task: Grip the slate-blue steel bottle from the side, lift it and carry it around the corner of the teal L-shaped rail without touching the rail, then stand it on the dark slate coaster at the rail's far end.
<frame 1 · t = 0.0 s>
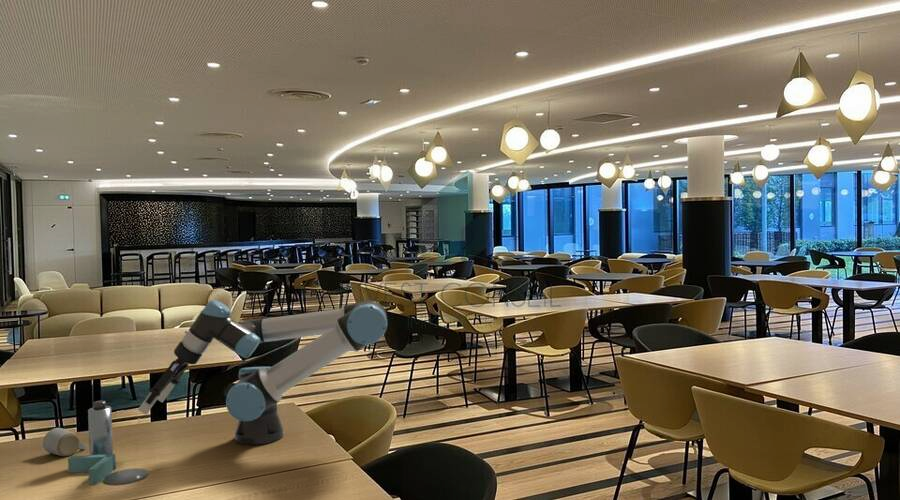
hand: (150, 405, 196), 15 cm above the table, tool tilted 35°, fingers open, 13 cm apart
bottle: (101, 462, 192), on the table
coaster: (126, 477, 180), on the table
bent rail: (110, 469, 186), on the table
ceramic mug: (66, 453, 201), on the table
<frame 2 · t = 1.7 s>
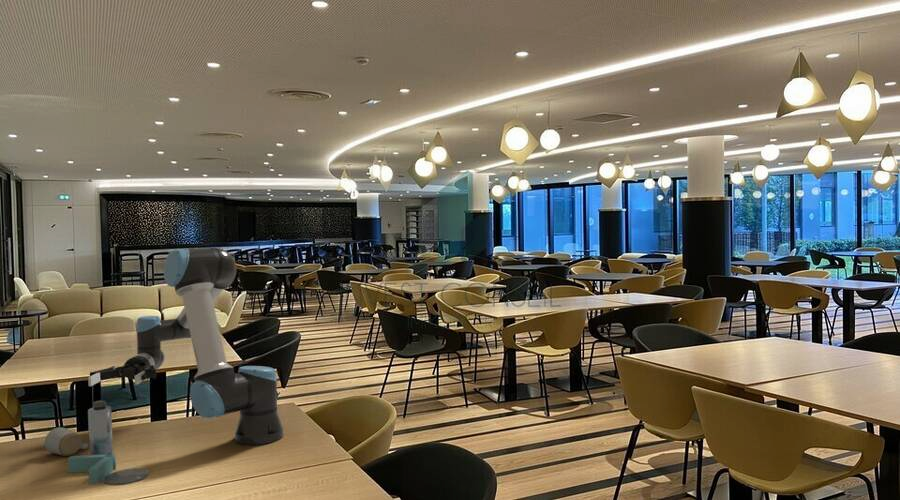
hand: (112, 381, 201), 22 cm above the table, tool horizontal, fingers open, 13 cm apart
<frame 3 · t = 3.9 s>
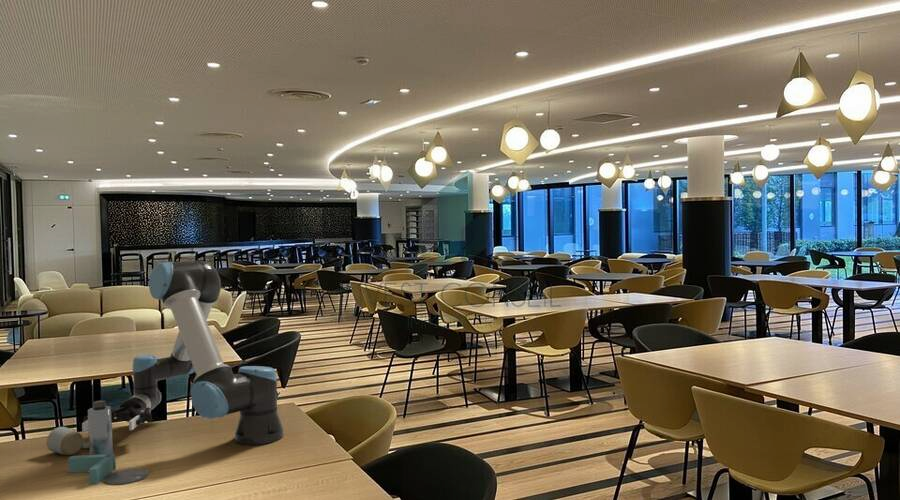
hand: (106, 426, 197), 9 cm above the table, tool horizontal, fingers open, 13 cm apart
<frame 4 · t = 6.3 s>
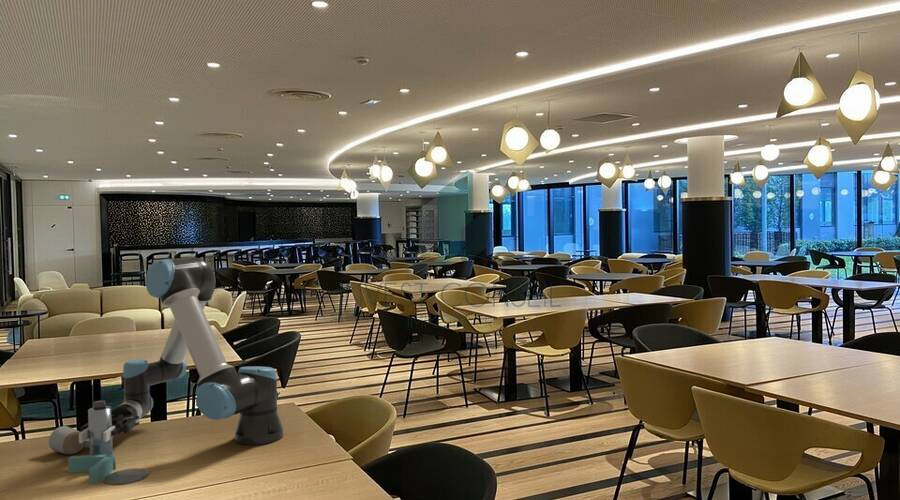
hand: (92, 437, 186), 9 cm above the table, tool horizontal, fingers closed on bottle, 6 cm apart
bottle: (101, 462, 192), on the table, touching gripper
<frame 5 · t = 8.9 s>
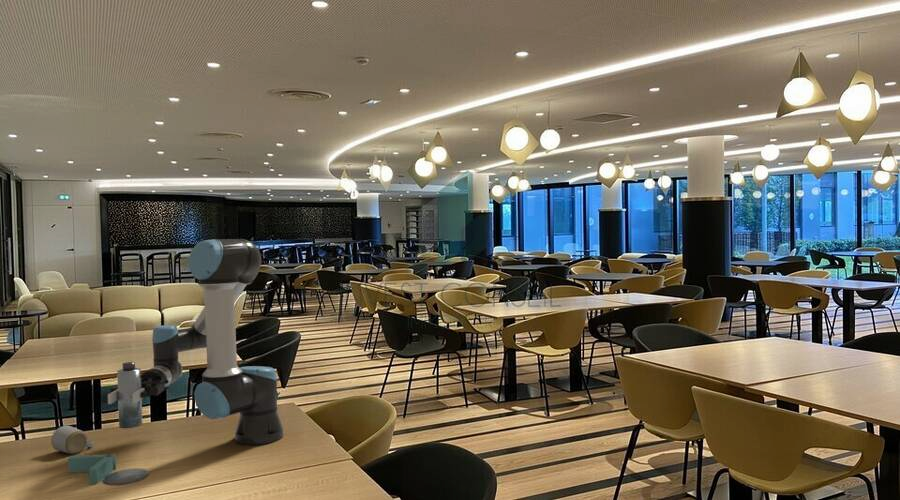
hand: (121, 398, 182), 21 cm above the table, tool horizontal, fingers closed on bottle, 6 cm apart
bottle: (130, 425, 188), point 12 cm above the table, touching gripper
when the fingers open (10 cm above the table, at t = 11.7 s): bottle stays where it is, resting on coaster.
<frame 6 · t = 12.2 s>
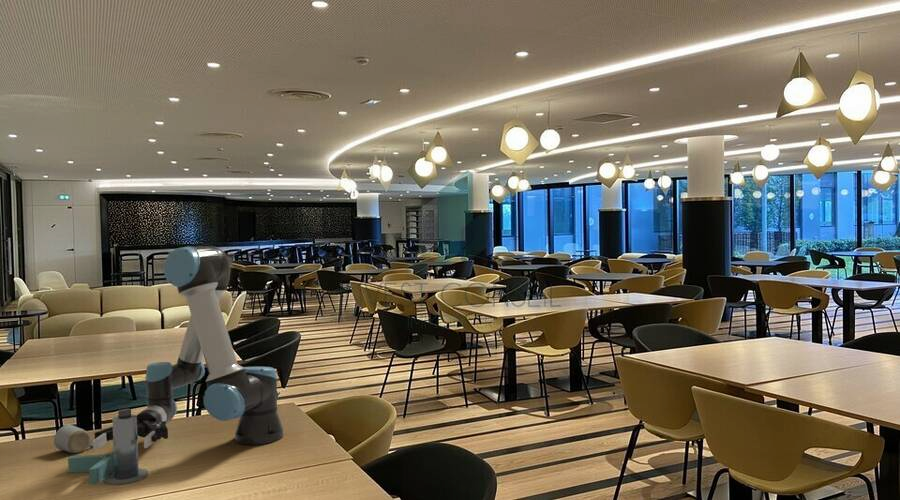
hand: (120, 444, 176), 10 cm above the table, tool horizontal, fingers open, 12 cm apart
bottle: (126, 475, 180), resting on coaster
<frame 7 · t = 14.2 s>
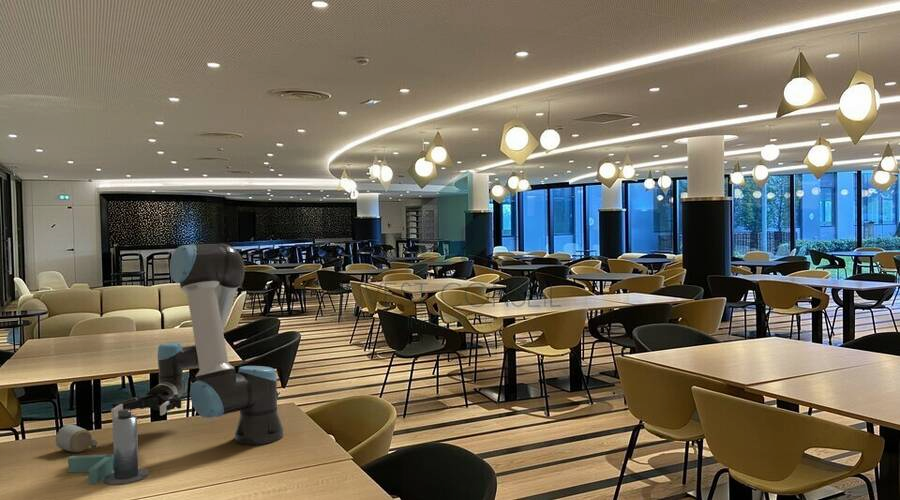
hand: (137, 412, 191), 15 cm above the table, tool horizontal, fingers open, 13 cm apart
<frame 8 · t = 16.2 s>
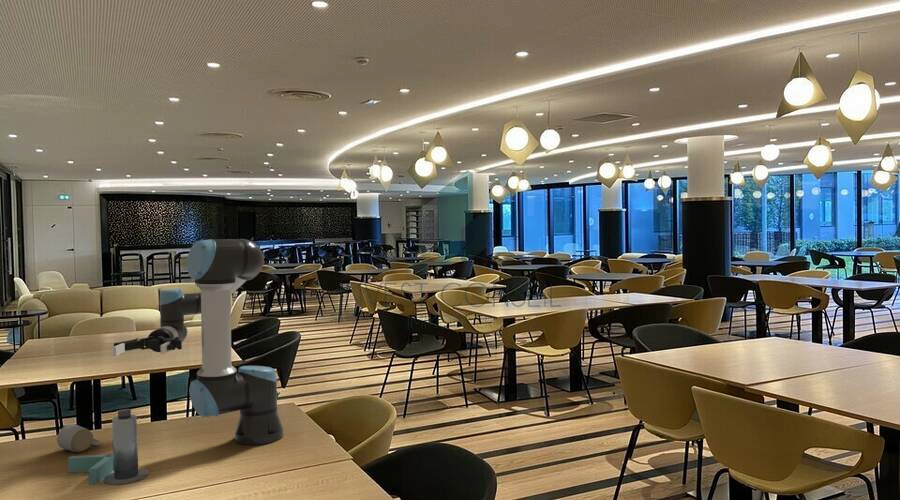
hand: (138, 350, 195), 32 cm above the table, tool horizontal, fingers open, 13 cm apart
at the end: bottle inside the target area on the coaster (0.1 cm from its centre), point 0.4 cm above the coaster's base; bottle tilted 0°; bottle touching coaster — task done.
